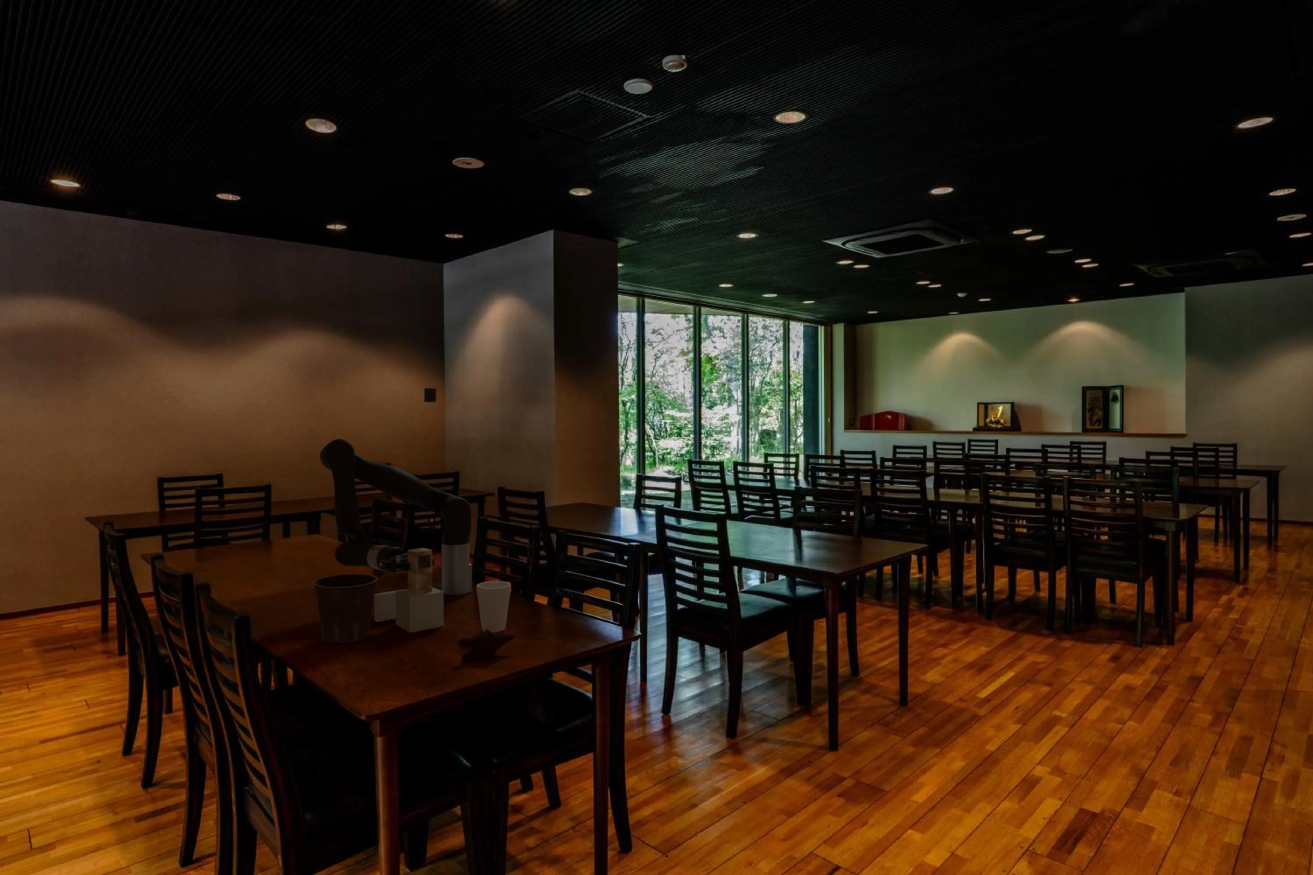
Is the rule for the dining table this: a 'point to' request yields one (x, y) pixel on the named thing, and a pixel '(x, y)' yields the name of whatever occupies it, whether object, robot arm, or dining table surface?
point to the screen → (385, 606)
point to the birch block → (420, 570)
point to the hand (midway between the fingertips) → (421, 564)
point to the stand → (419, 610)
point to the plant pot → (345, 607)
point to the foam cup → (493, 604)
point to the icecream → (484, 644)
